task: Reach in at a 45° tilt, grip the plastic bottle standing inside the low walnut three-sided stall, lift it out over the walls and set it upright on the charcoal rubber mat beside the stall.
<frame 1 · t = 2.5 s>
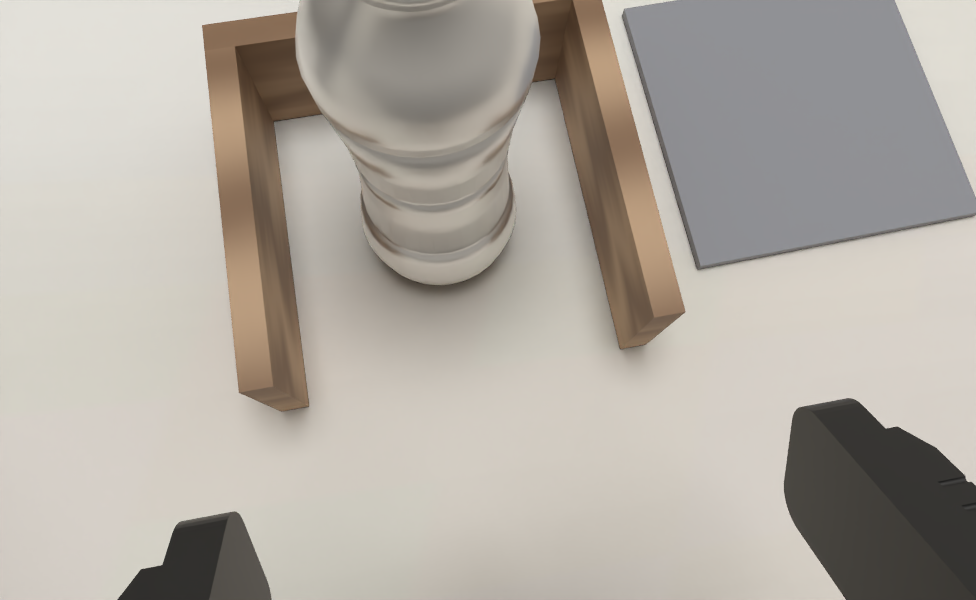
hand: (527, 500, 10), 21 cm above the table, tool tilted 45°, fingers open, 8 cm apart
walnut stall: (440, 231, 33), on the table
charcoal mat: (792, 112, 36), on the table
plastic bottle: (440, 232, 33), on the table
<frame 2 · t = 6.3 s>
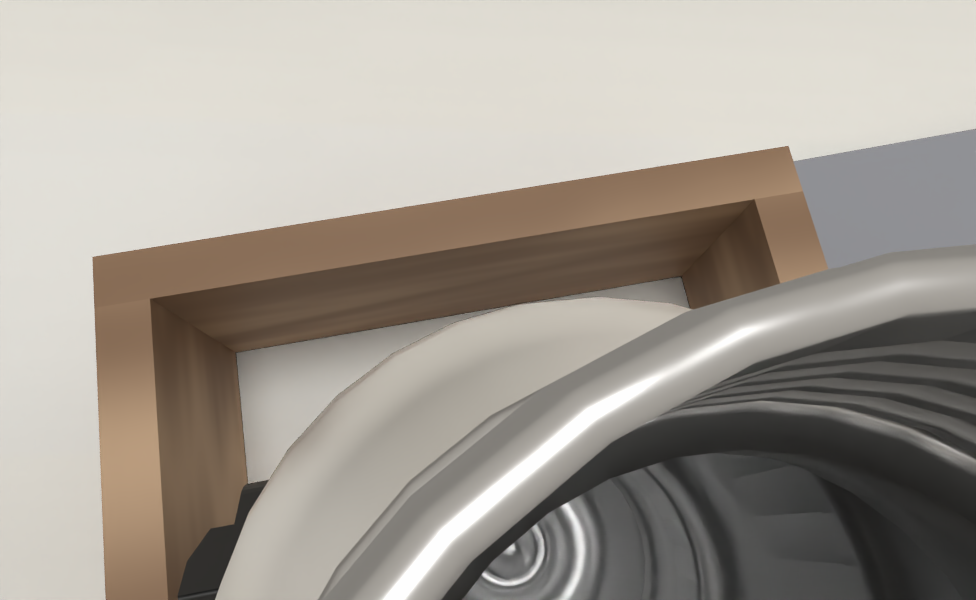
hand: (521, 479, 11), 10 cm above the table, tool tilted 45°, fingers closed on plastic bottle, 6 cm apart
walnut stall: (506, 548, 20), on the table
plastic bottle: (505, 547, 20), on the table, touching gripper
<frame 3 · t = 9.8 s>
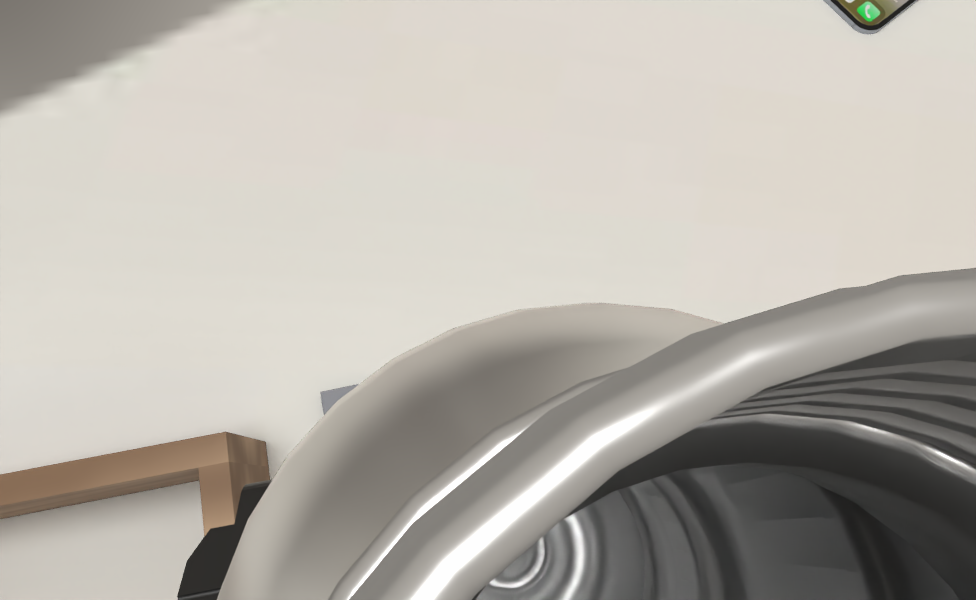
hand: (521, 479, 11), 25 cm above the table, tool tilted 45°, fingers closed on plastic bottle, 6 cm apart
charcoal mat: (489, 506, 34), on the table
plastic bottle: (505, 550, 20), point 14 cm above the table, touching gripper
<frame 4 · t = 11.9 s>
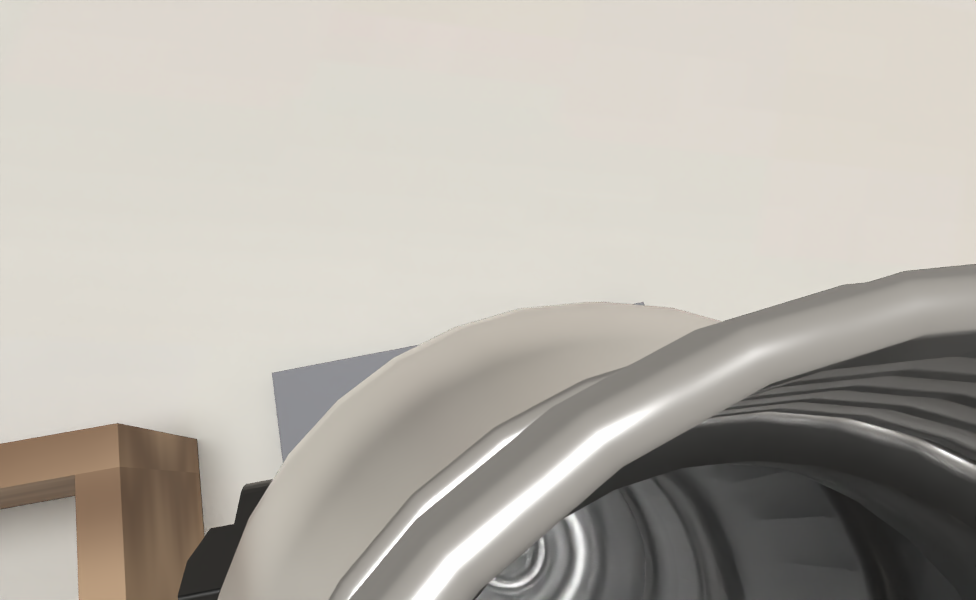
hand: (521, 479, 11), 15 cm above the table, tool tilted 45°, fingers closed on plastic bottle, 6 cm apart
charcoal mat: (498, 530, 25), on the table
plastic bottle: (506, 549, 20), point 5 cm above the table, touching gripper
when the fingers open (12 cm above the table, at t = 13.4 s): plastic bottle drops 1 cm, resting on charcoal mat.
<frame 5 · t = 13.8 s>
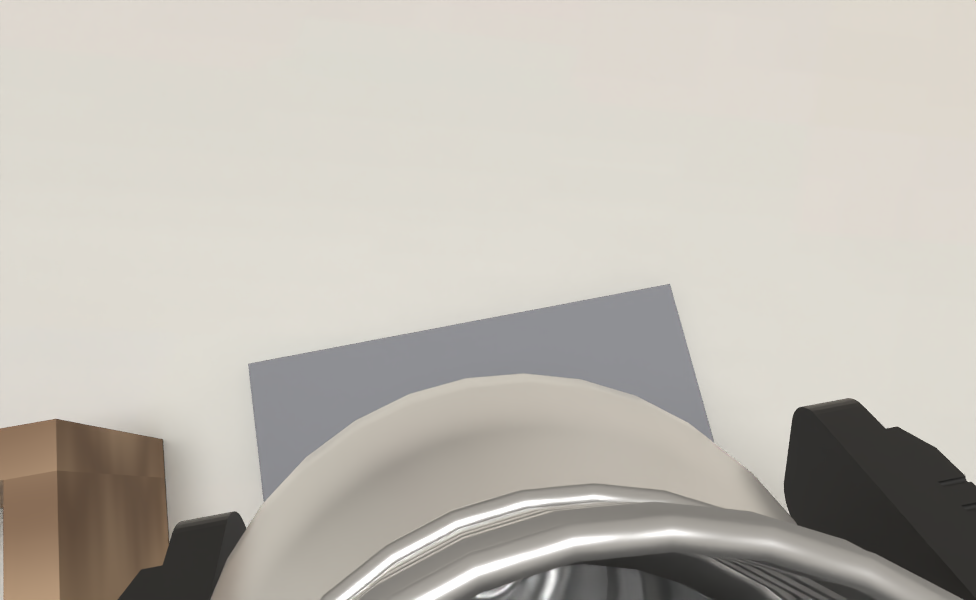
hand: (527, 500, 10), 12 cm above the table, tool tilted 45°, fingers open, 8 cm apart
charcoal mat: (506, 543, 22), on the table
plastic bottle: (483, 561, 21), resting on charcoal mat, touching gripper
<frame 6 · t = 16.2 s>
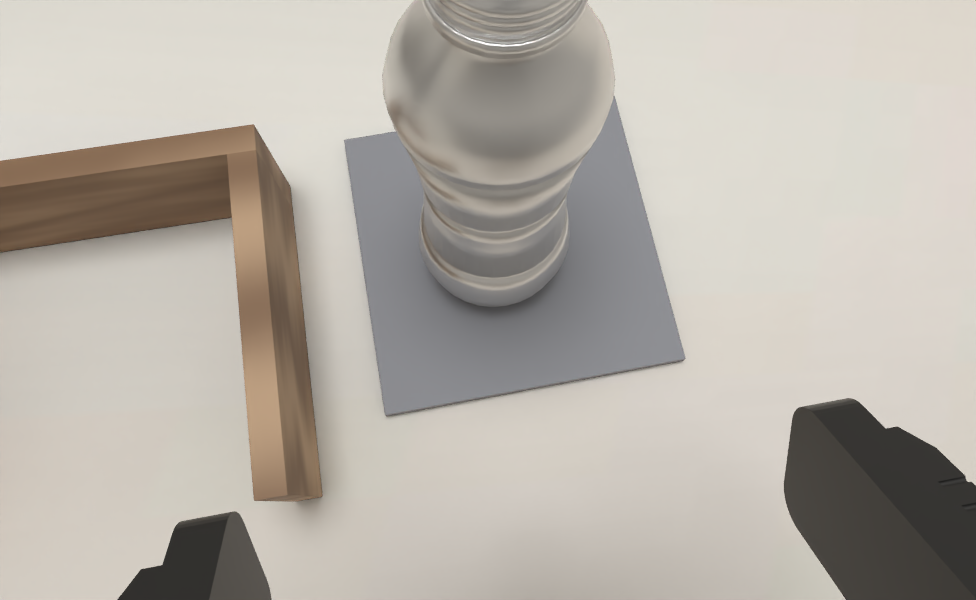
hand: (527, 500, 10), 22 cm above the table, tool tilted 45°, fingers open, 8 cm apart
walnut stall: (129, 373, 33), on the table
charcoal mat: (507, 248, 35), on the table
plastic bottle: (492, 255, 34), resting on charcoal mat
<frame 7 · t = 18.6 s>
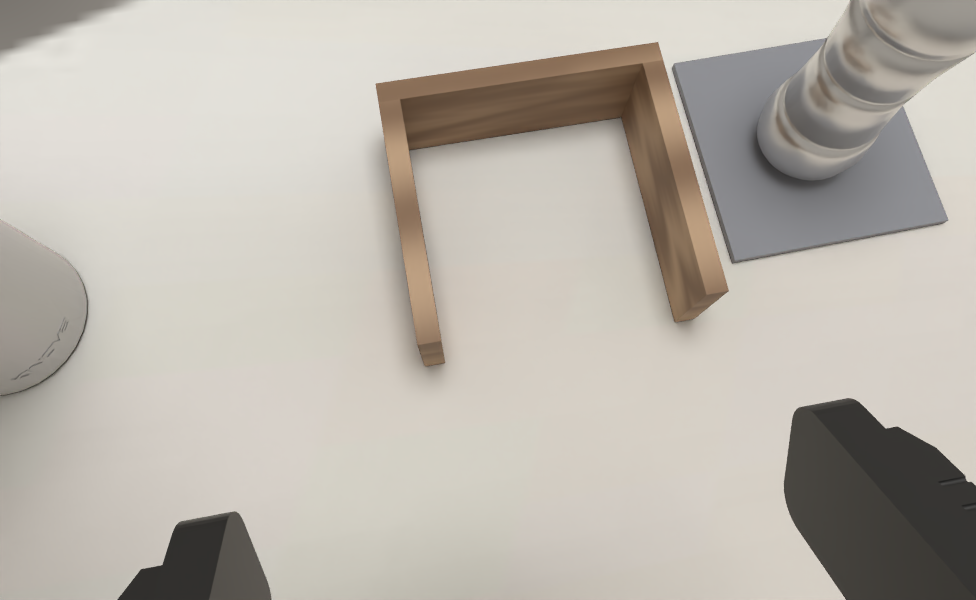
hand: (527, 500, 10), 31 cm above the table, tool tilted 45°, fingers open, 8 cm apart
walnut stall: (537, 233, 44), on the table
charcoal mat: (803, 143, 46), on the table
plastic bottle: (795, 147, 46), resting on charcoal mat
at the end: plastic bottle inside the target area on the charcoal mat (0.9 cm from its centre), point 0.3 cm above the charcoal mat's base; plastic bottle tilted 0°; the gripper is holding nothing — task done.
